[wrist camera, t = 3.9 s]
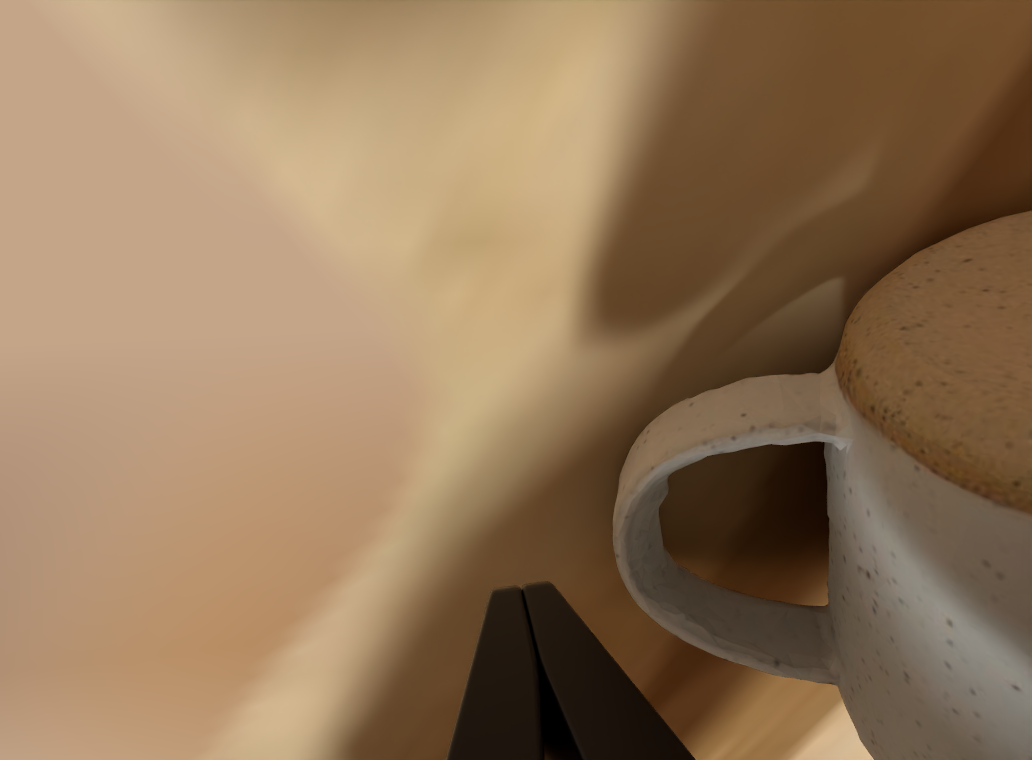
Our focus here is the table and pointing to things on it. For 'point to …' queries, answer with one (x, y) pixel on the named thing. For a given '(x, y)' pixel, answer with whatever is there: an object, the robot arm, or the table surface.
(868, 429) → the ceramic mug
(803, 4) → the table surface
